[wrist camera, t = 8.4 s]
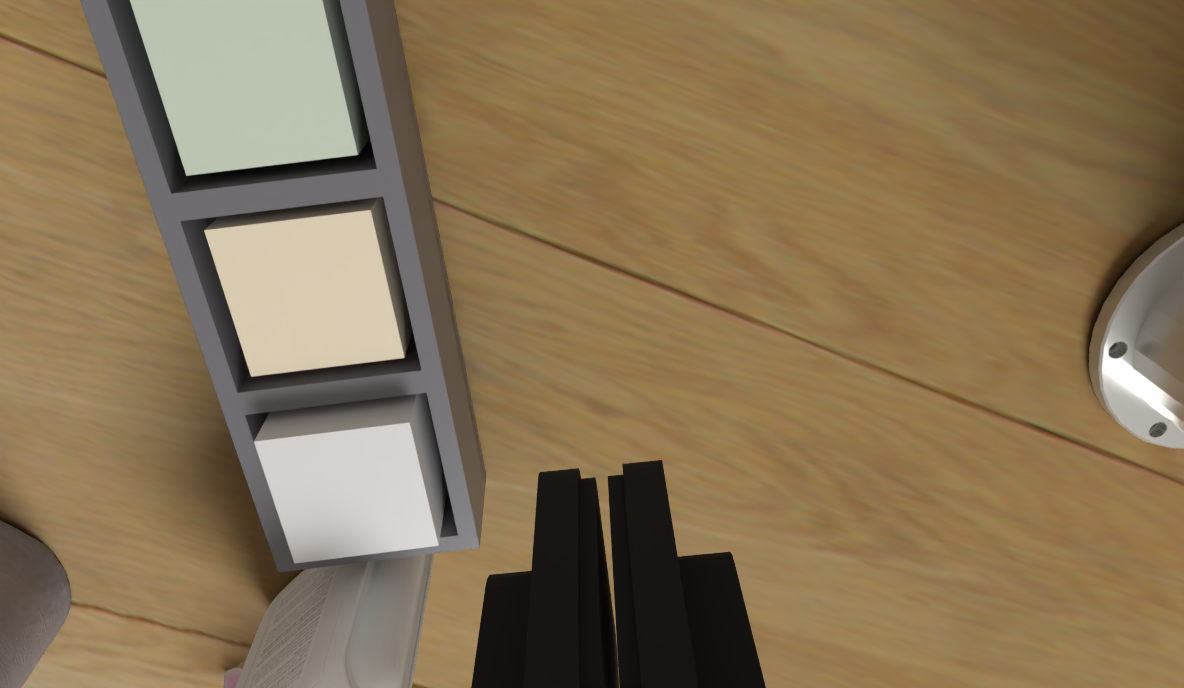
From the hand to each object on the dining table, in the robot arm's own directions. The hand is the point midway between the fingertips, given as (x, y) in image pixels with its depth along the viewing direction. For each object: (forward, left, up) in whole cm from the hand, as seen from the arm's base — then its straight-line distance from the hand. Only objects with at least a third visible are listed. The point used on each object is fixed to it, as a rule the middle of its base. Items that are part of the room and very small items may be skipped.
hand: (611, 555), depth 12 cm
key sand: (+10, +4, -25) cm, 27 cm away
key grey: (+10, +12, -24) cm, 28 cm away
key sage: (+10, -4, -25) cm, 27 cm away
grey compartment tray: (+10, +4, -26) cm, 28 cm away
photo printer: (+14, +21, -27) cm, 37 cm away
